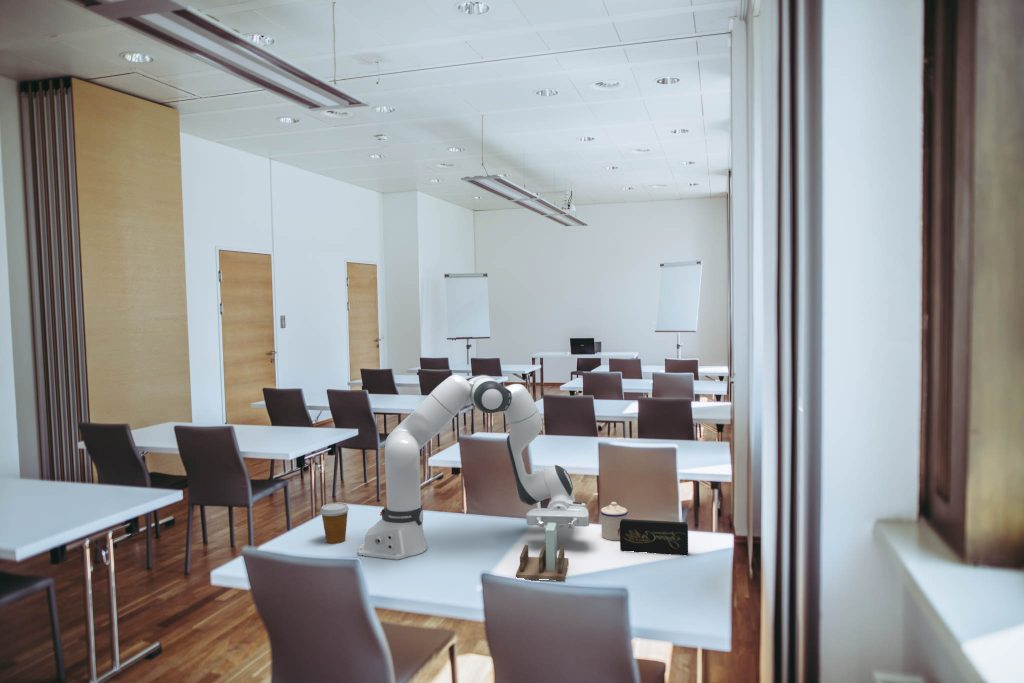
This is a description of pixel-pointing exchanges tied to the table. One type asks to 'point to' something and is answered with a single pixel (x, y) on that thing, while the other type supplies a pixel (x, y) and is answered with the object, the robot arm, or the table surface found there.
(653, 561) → the table surface
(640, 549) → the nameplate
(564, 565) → the slot rack
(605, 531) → the teacup with lid
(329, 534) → the disposable coffee cup
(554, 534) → the pale green rectangular block
